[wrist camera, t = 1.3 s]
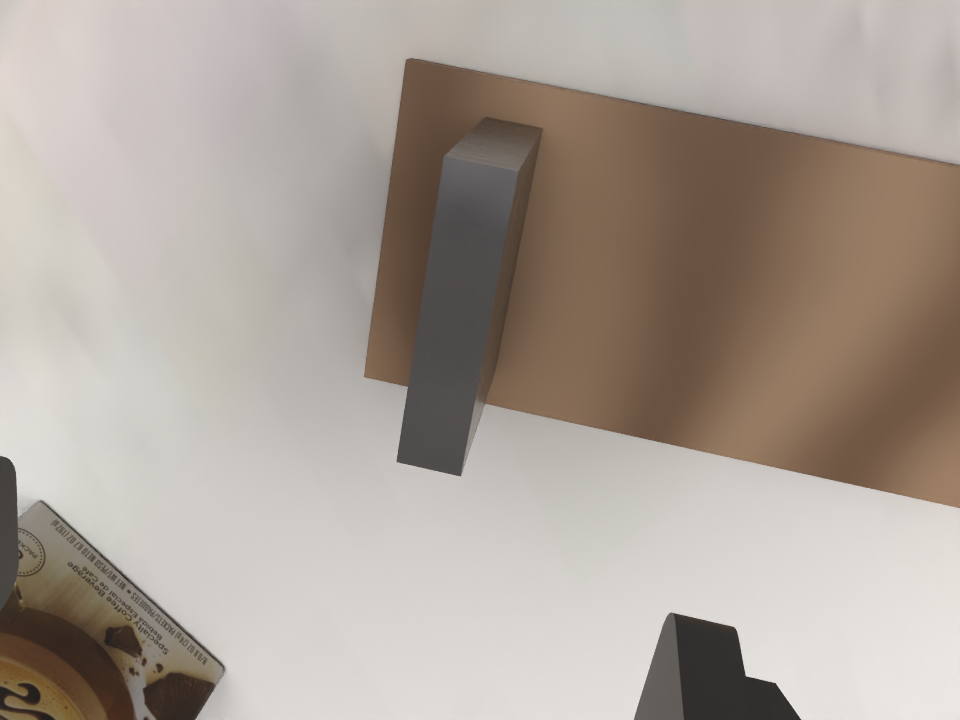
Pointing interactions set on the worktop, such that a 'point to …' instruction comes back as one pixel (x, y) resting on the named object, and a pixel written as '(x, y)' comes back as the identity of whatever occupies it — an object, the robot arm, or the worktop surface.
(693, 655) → the robot arm
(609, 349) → the walnut strip
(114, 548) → the worktop surface
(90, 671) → the coffee box
